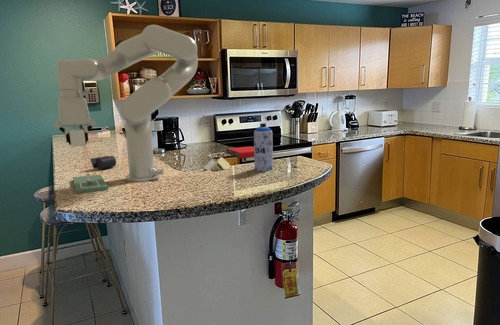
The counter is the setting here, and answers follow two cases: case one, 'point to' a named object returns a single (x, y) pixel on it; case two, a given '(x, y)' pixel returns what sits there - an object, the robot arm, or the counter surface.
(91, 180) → the grey peg pair
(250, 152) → the red device housing
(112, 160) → the speaker
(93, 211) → the counter surface
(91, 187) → the header board
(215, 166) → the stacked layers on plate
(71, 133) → the plug cap
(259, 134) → the aerosol can
